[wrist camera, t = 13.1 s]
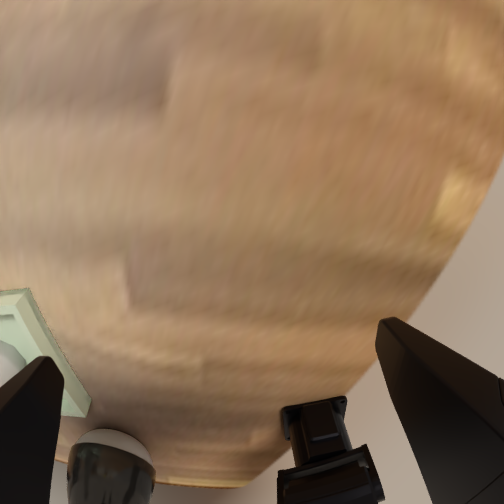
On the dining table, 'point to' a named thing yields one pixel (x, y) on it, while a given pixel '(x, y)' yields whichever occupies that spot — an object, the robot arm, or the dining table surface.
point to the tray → (39, 345)
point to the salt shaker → (9, 362)
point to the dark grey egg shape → (109, 470)
